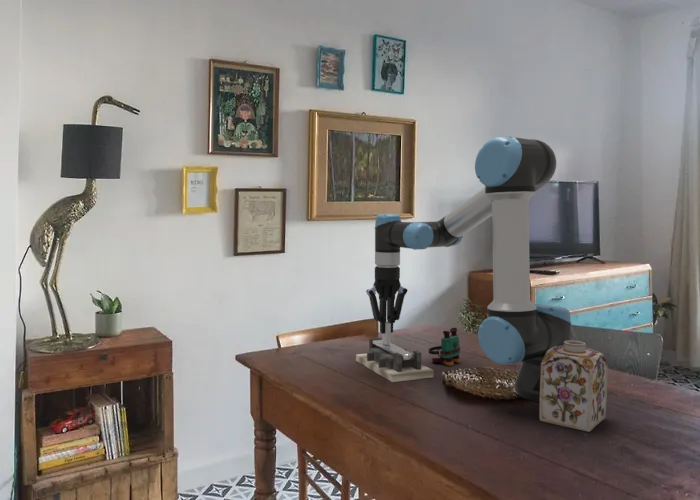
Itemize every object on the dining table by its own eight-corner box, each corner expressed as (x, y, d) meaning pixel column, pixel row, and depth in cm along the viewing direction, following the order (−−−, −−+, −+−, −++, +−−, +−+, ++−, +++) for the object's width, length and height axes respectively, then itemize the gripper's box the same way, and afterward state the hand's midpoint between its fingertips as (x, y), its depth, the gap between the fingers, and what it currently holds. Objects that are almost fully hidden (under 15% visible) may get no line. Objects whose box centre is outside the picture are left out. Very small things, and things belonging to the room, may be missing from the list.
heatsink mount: (433, 377, 179) (433, 353, 178) (392, 382, 174) (392, 357, 173) (393, 356, 202) (393, 335, 201) (355, 360, 197) (356, 339, 196)
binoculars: (435, 326, 202) (463, 327, 196) (438, 359, 202) (466, 361, 196) (421, 331, 195) (449, 331, 189) (423, 365, 195) (452, 367, 189)
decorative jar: (537, 421, 143) (539, 343, 142) (556, 408, 152) (558, 334, 151) (591, 433, 136) (594, 350, 135) (607, 418, 145) (610, 341, 144)
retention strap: (415, 359, 179) (415, 353, 179) (402, 361, 177) (402, 355, 177) (384, 343, 197) (384, 337, 197) (372, 344, 196) (372, 338, 196)
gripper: (400, 263, 195) (399, 339, 197) (362, 265, 190) (361, 342, 192) (412, 266, 188) (411, 344, 190) (372, 268, 183) (371, 348, 185)
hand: (386, 343), depth 191 cm, fingers closed
